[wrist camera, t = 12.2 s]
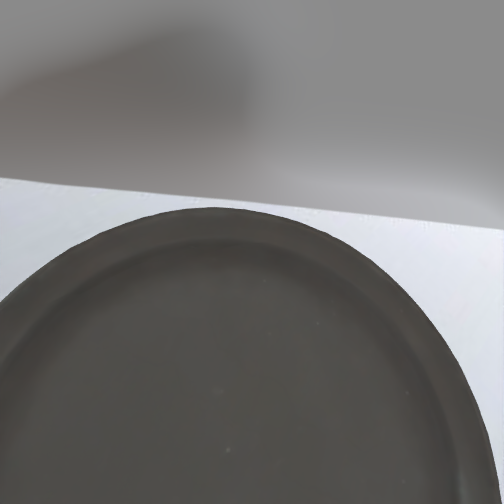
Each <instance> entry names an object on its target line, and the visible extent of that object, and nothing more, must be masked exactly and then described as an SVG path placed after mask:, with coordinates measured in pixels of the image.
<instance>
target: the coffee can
mask: <svg viewBox="0 0 504 504" xmlns="http://www.w3.org/2000/svg"><path fill="white" fill-rule="evenodd" d="M0 504H502V502H501V496H500V490H499V481H498V476H497V472H496V467H495V462H494V457H493V453H492V449H491V444H490V440H489V436H488V433H487V430H486V427H485V424H484V421H483V418H482V416H481V413H480V410H479V407H478V404H477V402H476V400H475V398H474V395H473V393H472V391H471V389H470V386H469V384H468V382H467V380H466V377H465V375H464V373H463V371H462V369H461V367H460V365H459V363H458V361H457V360H456V358H455V356H454V355H453V353H452V351H451V350H450V348H449V346H448V345H447V343H446V341H445V340H444V339H443V337H442V336H441V334H440V333H439V332H438V330H437V329H436V327H435V326H434V325H433V323H432V322H431V321H430V320H429V318H428V317H427V316H426V315H425V313H424V312H423V311H422V309H421V308H420V307H419V306H418V305H417V304H416V302H415V301H414V300H413V299H412V298H411V297H410V296H409V295H408V293H407V292H406V291H405V290H404V289H403V288H402V287H401V286H400V285H399V284H398V283H397V282H395V281H394V280H393V279H392V278H391V277H390V276H389V275H388V274H387V273H386V272H385V271H384V270H382V269H381V268H380V267H379V266H378V265H376V264H375V263H374V262H373V261H372V260H371V259H369V258H367V257H366V256H364V255H363V254H361V253H360V252H359V251H357V250H356V249H354V248H353V247H351V246H350V245H348V244H346V243H345V242H343V241H341V240H339V239H337V238H335V237H332V236H331V235H329V234H328V233H326V232H322V231H319V230H317V229H315V228H313V227H310V226H308V225H306V224H303V223H300V222H298V221H294V220H291V219H288V218H284V217H280V216H275V215H271V214H267V213H262V212H256V211H250V210H246V209H234V208H219V207H207V208H192V209H182V210H176V211H170V212H164V213H159V214H156V215H153V216H147V217H143V218H140V219H137V220H134V221H131V222H128V223H125V224H123V225H120V226H117V227H115V228H112V229H109V230H107V231H104V232H101V233H99V234H97V235H95V236H94V237H92V238H90V239H88V240H86V241H84V242H82V243H80V244H78V245H76V246H74V247H71V248H70V249H68V250H67V251H65V252H64V253H62V254H60V255H59V256H57V257H56V258H54V259H53V260H51V261H50V262H49V263H47V264H46V265H44V266H43V267H42V268H40V269H39V270H38V271H36V272H35V273H34V274H32V275H31V276H30V277H28V278H27V279H26V280H25V281H23V282H22V283H21V284H20V285H18V286H17V287H16V288H15V289H14V290H13V291H12V292H11V293H10V294H9V295H8V296H6V297H5V298H4V299H3V300H2V301H1V302H0Z"/></svg>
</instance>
